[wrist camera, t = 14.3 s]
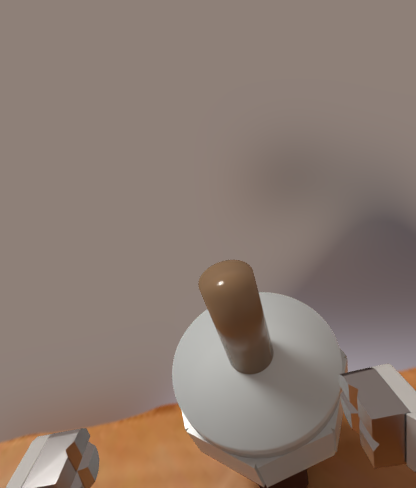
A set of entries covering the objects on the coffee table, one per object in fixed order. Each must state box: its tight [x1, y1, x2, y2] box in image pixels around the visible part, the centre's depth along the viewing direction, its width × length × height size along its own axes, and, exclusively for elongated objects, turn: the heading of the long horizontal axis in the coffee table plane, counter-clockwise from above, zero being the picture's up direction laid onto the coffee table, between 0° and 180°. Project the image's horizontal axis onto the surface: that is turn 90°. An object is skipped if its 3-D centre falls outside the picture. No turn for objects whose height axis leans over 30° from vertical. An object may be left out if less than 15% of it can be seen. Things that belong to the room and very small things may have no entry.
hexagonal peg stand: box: [172, 260, 348, 488], centre depth 24 cm, size 15×15×14 cm
